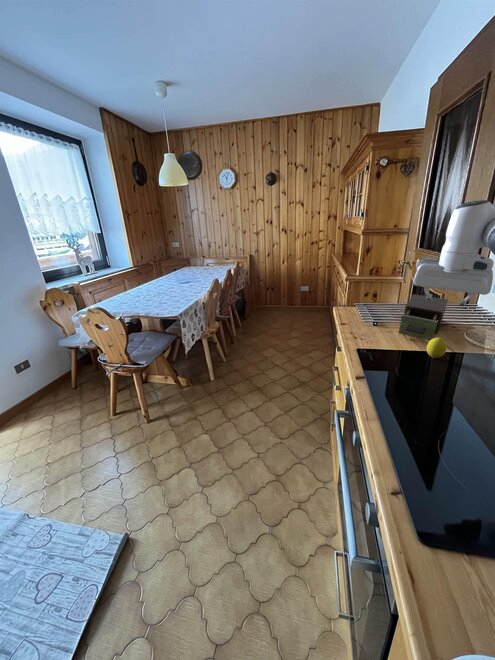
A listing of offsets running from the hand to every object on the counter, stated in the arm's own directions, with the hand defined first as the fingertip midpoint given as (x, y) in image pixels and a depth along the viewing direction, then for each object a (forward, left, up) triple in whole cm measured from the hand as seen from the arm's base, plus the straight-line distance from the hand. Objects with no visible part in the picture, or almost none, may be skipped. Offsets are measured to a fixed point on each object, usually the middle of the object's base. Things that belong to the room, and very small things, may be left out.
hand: (444, 302), depth 92 cm
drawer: (+7, -12, -18) cm, 23 cm away
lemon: (-1, +3, -20) cm, 20 cm away
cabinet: (+7, -23, -19) cm, 31 cm away
